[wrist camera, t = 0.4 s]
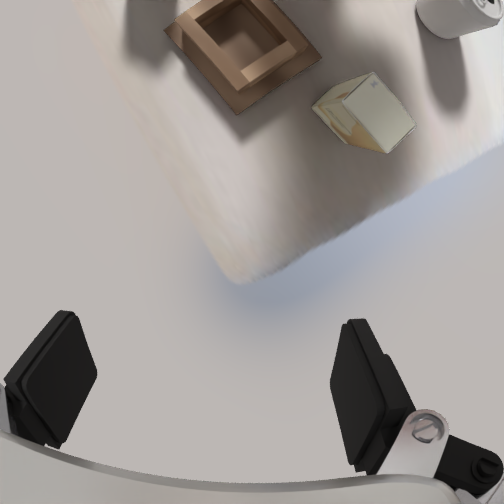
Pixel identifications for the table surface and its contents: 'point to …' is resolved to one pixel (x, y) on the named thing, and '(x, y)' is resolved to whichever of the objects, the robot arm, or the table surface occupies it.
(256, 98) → the slotted stand
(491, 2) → the can
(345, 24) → the table surface
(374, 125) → the skincare box
